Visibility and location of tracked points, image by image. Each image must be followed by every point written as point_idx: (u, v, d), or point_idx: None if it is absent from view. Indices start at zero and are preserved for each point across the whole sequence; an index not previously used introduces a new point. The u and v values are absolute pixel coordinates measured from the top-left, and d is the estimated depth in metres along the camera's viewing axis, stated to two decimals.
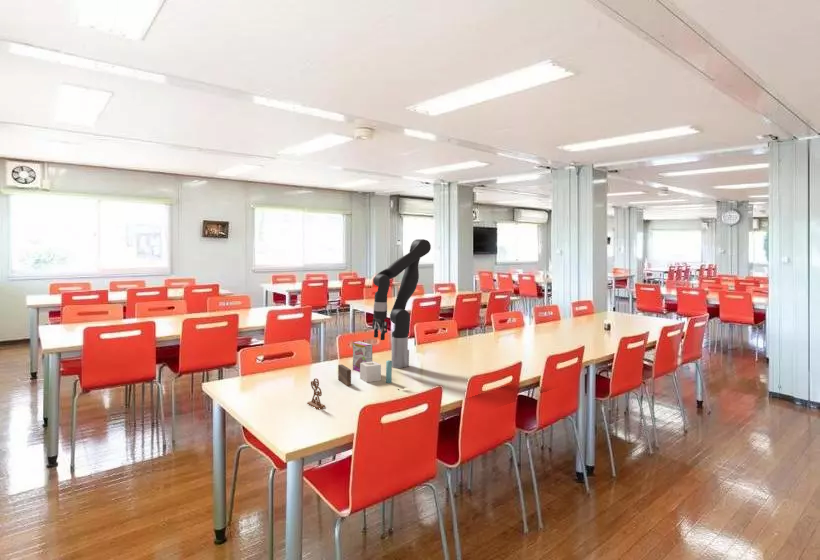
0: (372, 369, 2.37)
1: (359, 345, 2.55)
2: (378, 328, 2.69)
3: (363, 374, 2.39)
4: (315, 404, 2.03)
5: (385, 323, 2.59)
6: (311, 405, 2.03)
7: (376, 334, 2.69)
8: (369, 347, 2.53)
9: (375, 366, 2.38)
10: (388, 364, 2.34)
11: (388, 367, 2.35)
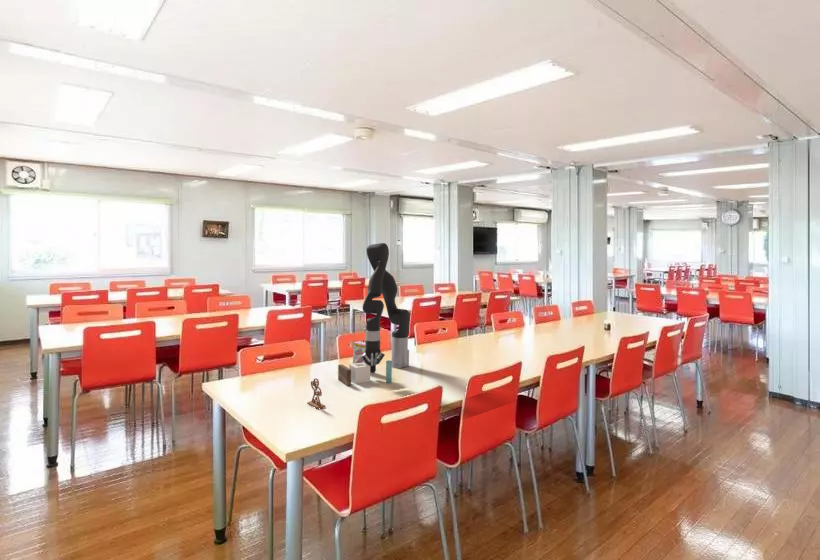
0: (361, 370, 2.34)
1: (359, 345, 2.55)
2: None
3: (352, 375, 2.36)
4: (315, 404, 2.03)
5: None
6: (311, 405, 2.03)
7: None
8: None
9: (364, 367, 2.35)
10: (388, 364, 2.34)
11: (388, 367, 2.35)
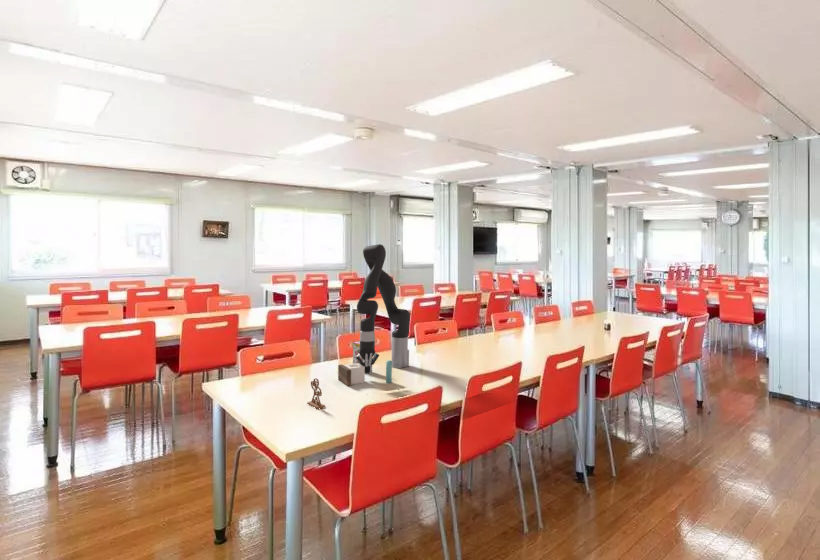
0: (355, 371, 2.33)
1: (359, 345, 2.55)
2: None
3: None
4: (315, 404, 2.03)
5: None
6: (311, 405, 2.03)
7: None
8: None
9: (358, 368, 2.33)
10: (388, 364, 2.34)
11: (388, 367, 2.35)
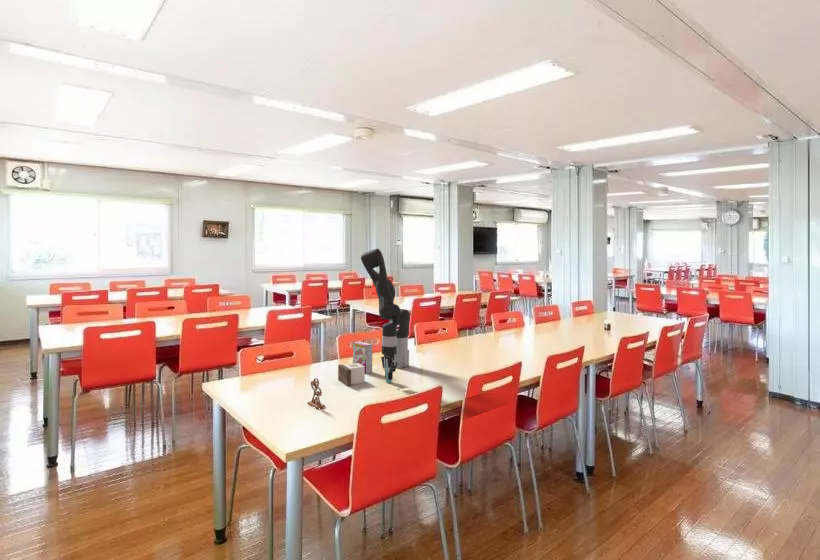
0: (355, 371, 2.33)
1: (359, 345, 2.55)
2: (388, 368, 2.34)
3: None
4: (315, 404, 2.03)
5: None
6: (311, 405, 2.03)
7: None
8: (369, 347, 2.53)
9: (358, 368, 2.33)
10: None
11: None
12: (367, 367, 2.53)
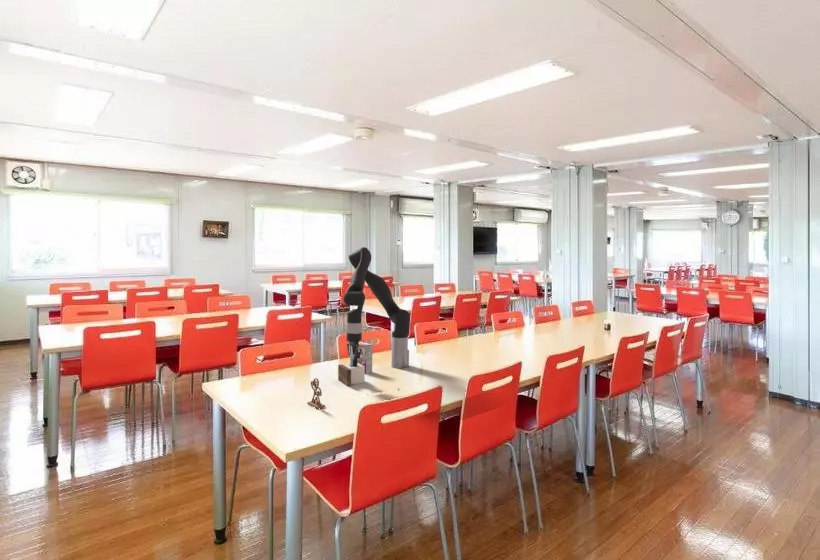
0: (355, 371, 2.33)
1: (359, 345, 2.55)
2: (353, 355, 2.35)
3: None
4: (315, 404, 2.03)
5: None
6: (311, 405, 2.03)
7: None
8: (369, 347, 2.53)
9: (358, 368, 2.33)
10: None
11: None
12: (367, 367, 2.53)
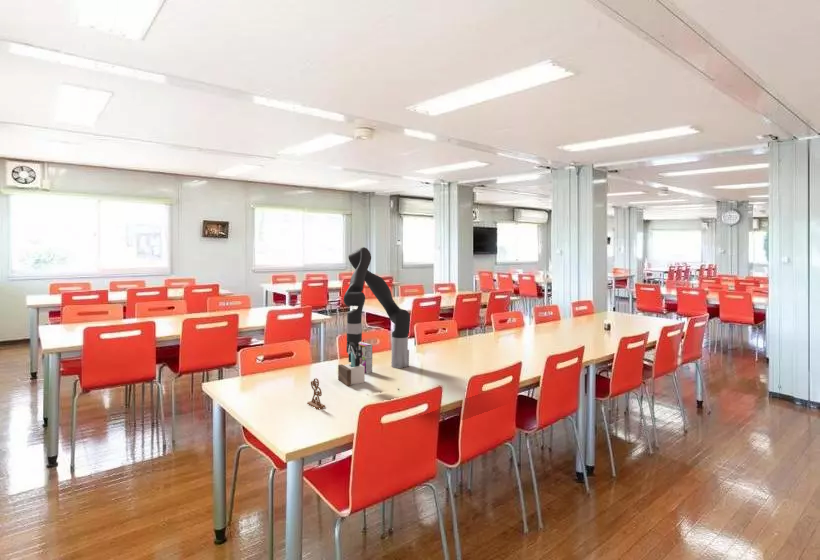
0: (355, 371, 2.33)
1: (359, 345, 2.55)
2: None
3: None
4: (315, 404, 2.03)
5: None
6: (311, 405, 2.03)
7: None
8: (369, 347, 2.53)
9: (358, 368, 2.33)
10: (353, 355, 2.35)
11: (353, 358, 2.35)
12: (367, 367, 2.53)
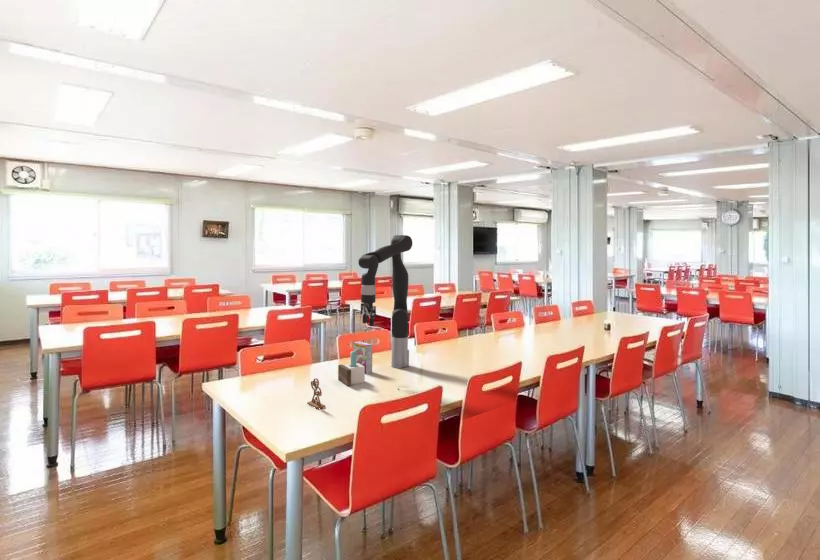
0: (355, 371, 2.33)
1: (359, 345, 2.55)
2: (369, 315, 2.44)
3: None
4: (315, 404, 2.03)
5: None
6: (311, 405, 2.03)
7: None
8: (369, 347, 2.53)
9: (358, 368, 2.33)
10: (352, 355, 2.34)
11: (352, 358, 2.35)
12: (367, 367, 2.53)
